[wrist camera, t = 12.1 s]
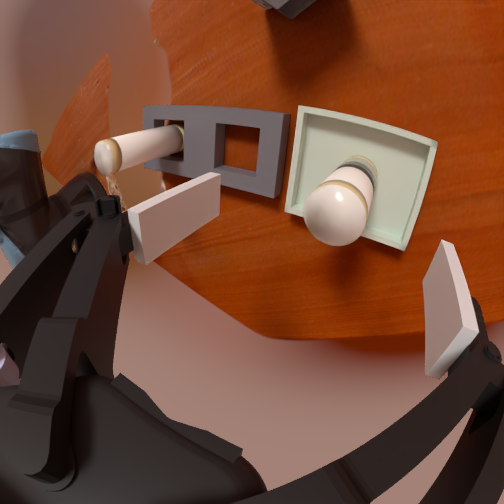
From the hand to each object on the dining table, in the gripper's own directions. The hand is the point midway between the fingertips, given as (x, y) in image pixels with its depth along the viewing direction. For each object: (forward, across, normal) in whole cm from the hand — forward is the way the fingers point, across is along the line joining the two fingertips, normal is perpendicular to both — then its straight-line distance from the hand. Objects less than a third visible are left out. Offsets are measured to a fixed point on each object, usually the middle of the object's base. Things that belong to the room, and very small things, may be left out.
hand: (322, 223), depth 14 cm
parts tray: (+14, +1, 0) cm, 14 cm away
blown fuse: (+13, +1, 0) cm, 13 cm away
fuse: (+14, -22, 0) cm, 27 cm away
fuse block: (+14, -17, 0) cm, 22 cm away
